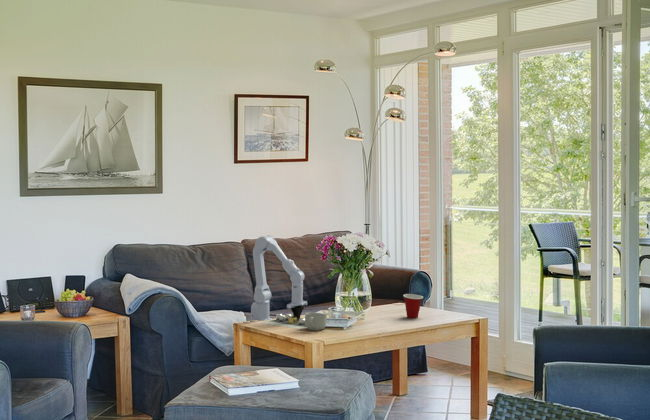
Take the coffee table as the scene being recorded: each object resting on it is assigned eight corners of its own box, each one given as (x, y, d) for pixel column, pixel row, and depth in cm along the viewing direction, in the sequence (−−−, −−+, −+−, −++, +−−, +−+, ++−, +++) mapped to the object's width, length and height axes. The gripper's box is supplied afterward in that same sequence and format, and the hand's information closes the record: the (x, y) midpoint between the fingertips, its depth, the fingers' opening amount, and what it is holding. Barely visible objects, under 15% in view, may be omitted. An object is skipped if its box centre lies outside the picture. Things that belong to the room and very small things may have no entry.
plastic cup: (416, 320, 453) (416, 297, 453) (398, 317, 460) (399, 295, 459) (426, 317, 462) (427, 295, 461) (409, 314, 469) (409, 293, 468)
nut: (286, 323, 437) (286, 317, 437) (289, 321, 441) (289, 315, 441) (295, 324, 435) (295, 318, 435) (298, 322, 439) (298, 316, 439)
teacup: (311, 327, 430) (311, 311, 430) (330, 329, 425) (330, 313, 425) (297, 331, 418) (297, 315, 418) (317, 334, 413) (317, 317, 413)
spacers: (272, 320, 444) (272, 314, 444) (287, 317, 454) (287, 311, 454) (308, 326, 430) (308, 320, 429) (323, 322, 440) (324, 316, 440)
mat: (261, 323, 437) (261, 322, 437) (286, 318, 453) (286, 317, 453) (298, 329, 423) (298, 328, 423) (322, 323, 439) (322, 323, 439)
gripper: (294, 296, 432) (294, 323, 433) (311, 293, 444) (311, 319, 445) (283, 295, 436) (283, 321, 437) (301, 292, 448) (300, 317, 449)
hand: (296, 320), depth 441 cm, fingers closed
